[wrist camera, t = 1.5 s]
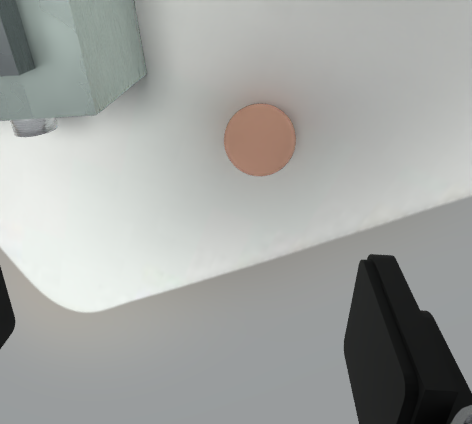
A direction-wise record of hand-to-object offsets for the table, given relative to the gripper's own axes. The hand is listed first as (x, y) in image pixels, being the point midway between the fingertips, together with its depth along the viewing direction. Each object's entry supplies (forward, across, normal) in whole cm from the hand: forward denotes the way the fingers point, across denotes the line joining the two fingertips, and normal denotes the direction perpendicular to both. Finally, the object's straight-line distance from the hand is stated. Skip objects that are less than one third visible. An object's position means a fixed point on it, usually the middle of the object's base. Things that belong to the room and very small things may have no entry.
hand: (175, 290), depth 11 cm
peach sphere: (+19, -2, +1) cm, 19 cm away
